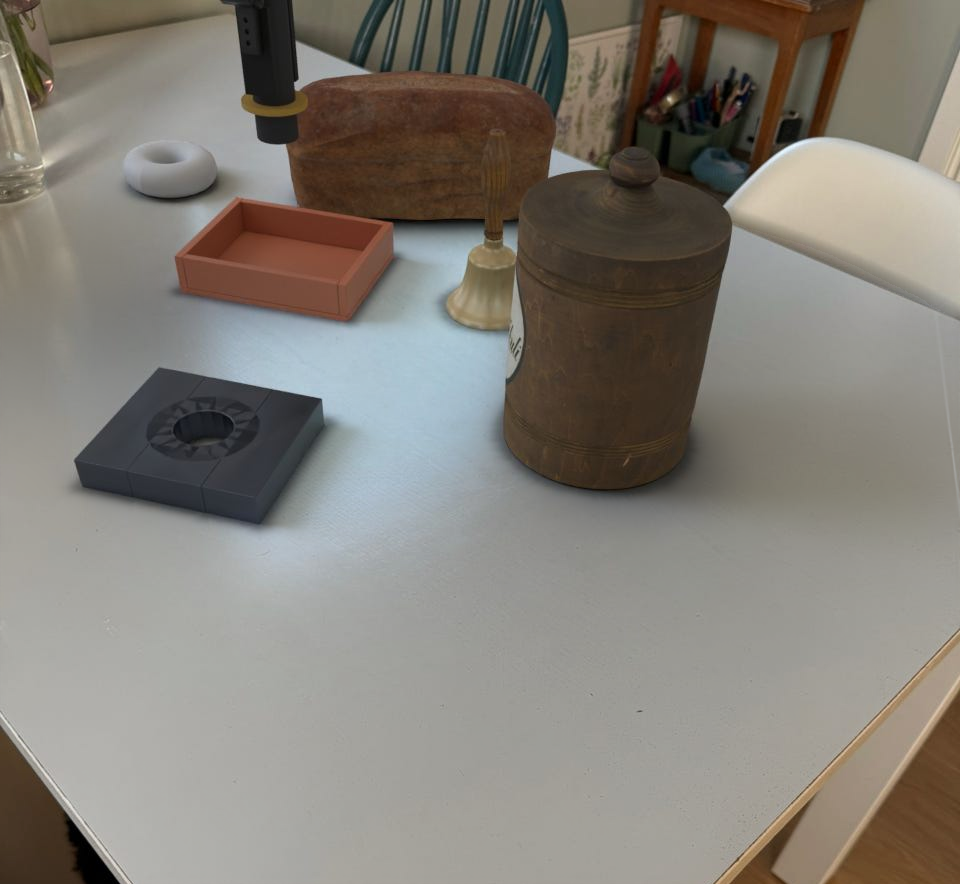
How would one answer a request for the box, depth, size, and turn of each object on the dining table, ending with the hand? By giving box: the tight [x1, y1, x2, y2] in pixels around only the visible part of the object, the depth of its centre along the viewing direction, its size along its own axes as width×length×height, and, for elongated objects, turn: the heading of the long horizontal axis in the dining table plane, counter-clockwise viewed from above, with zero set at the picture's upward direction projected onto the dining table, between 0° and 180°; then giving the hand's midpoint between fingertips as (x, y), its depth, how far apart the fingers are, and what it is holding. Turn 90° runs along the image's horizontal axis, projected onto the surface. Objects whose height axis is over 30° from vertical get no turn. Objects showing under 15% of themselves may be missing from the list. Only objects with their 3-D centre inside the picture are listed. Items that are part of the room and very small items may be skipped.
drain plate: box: [73, 366, 325, 525], centre depth 75 cm, size 14×13×2 cm
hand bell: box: [445, 129, 517, 332], centre depth 87 cm, size 8×8×16 cm
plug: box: [240, 0, 308, 146], centre depth 82 cm, size 6×6×12 cm
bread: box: [285, 70, 557, 221], centre depth 103 cm, size 14×28×12 cm, turn 96°
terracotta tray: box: [173, 196, 395, 323], centre depth 94 cm, size 17×14×4 cm
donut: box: [122, 139, 218, 199], centre depth 107 cm, size 10×4×10 cm
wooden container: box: [502, 146, 733, 490], centre depth 72 cm, size 15×15×22 cm
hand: (272, 85), depth 83 cm, fingers closed on plug, 4 cm apart
